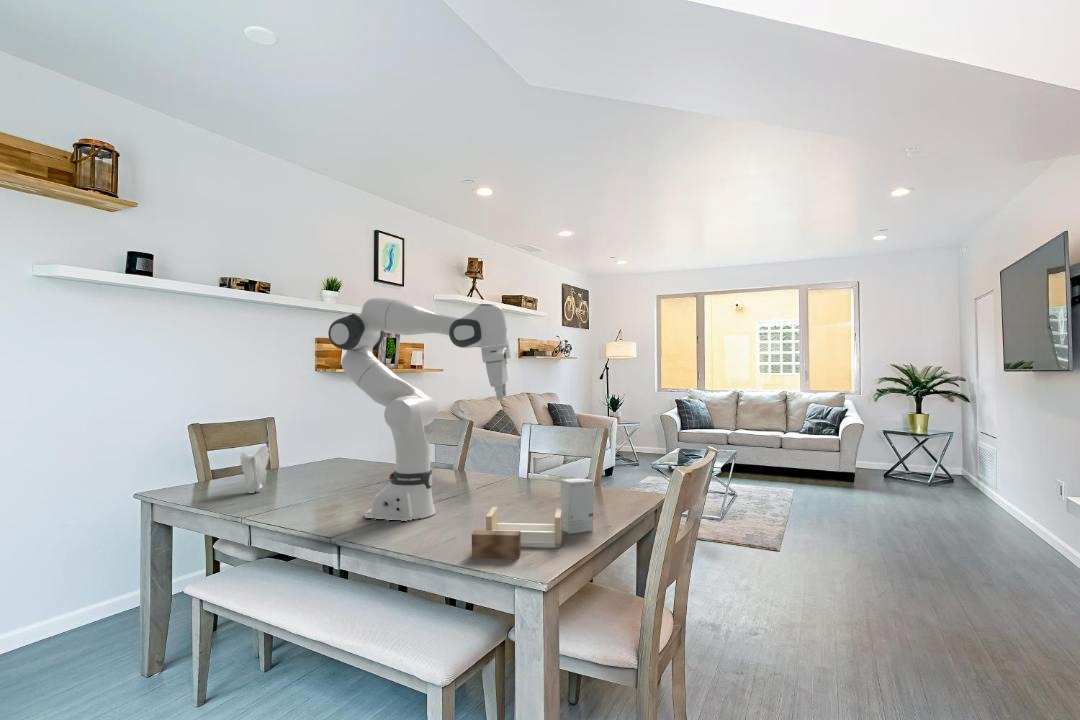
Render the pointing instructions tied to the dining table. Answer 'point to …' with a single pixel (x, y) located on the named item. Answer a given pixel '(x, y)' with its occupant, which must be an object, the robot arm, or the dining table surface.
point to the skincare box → (577, 505)
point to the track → (530, 530)
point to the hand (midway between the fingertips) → (501, 398)
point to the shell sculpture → (254, 467)
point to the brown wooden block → (496, 544)
